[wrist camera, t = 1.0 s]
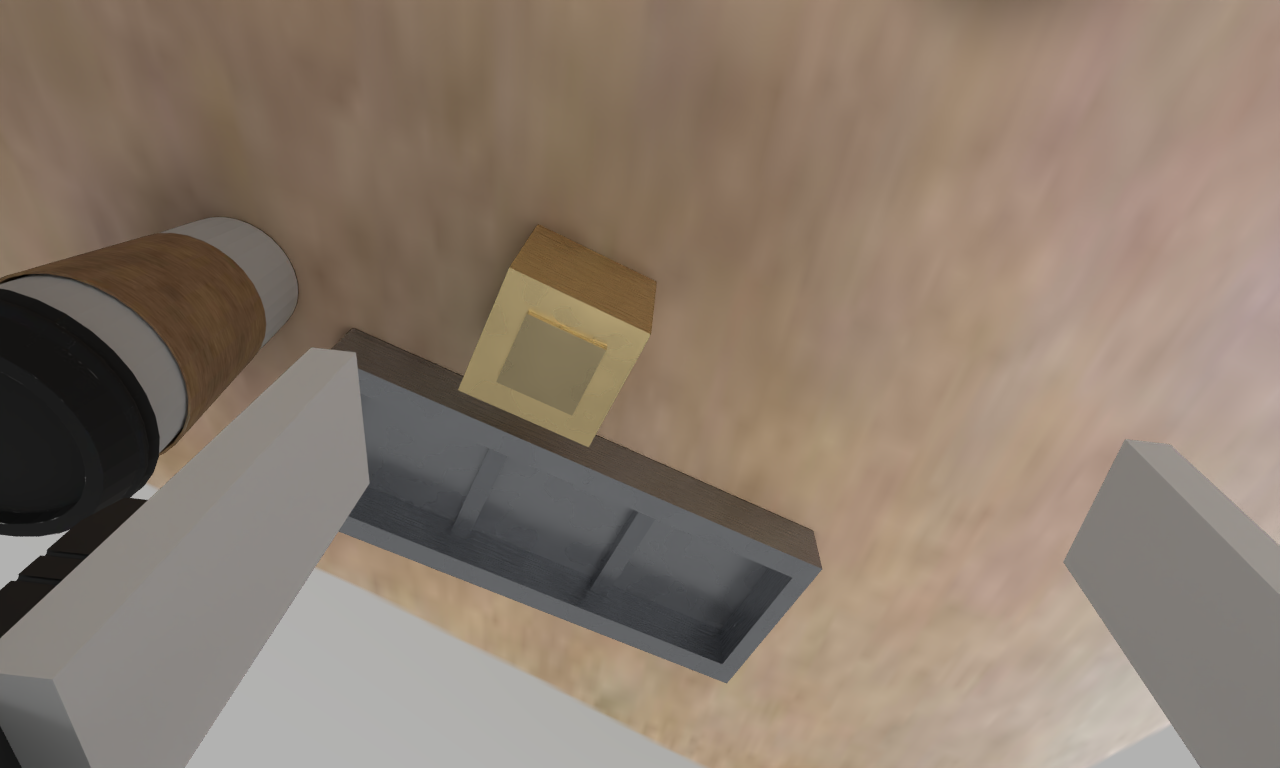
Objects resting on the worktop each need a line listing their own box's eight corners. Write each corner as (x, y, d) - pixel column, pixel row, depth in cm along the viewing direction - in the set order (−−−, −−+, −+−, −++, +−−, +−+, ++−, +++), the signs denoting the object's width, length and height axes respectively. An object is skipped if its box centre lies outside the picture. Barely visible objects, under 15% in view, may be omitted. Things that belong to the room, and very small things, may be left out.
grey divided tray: (306, 474, 40) (279, 508, 37) (352, 327, 35) (325, 354, 33) (724, 642, 44) (726, 683, 41) (813, 531, 40) (822, 568, 37)
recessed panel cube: (492, 331, 35) (455, 393, 30) (538, 223, 32) (507, 270, 27) (603, 381, 36) (587, 451, 31) (656, 281, 33) (650, 337, 28)
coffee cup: (141, 166, 32) (-239, 284, 19) (329, 216, 33) (88, 364, 20) (154, 331, 36) (-152, 523, 23) (321, 373, 37) (116, 584, 23)
